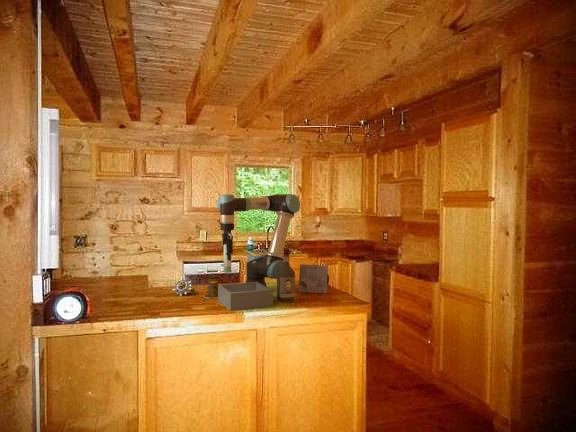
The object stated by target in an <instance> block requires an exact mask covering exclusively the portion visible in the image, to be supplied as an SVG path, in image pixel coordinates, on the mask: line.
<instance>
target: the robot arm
mask: <svg viewBox="0 0 576 432" xmlns="http://www.w3.org/2000/svg"><path fill="white" fill-rule="evenodd" d="M216 208H217V209H218V210H219V219H220V220H219V221H220V224H219V229H220V230H221V231H223V233H222V234H221V237H222V240H221V241H222V246H221V247H222V248H221V249H222V252H223V253H224V244H226V250H227V253H226V266H231V267H232V254H233V252H234V251H233V250H234V249H233V245H234V242H233V241H234V236H233V234H232V231H234V230H235V212H249V211H254V210H255V211H256V210H261V211H263V212H275V214H276V216H277V218H276V220H275V224H274V228H273V233H272V236H271V241H270V244H269V248H268V252H267V253H265V254H263V255H258V254H257V255H250V256H247V258H246V265H245V266H246V267H245V268H246V271H245V272H246V280H245V283H249V282H258V283H260V284H262V285H264V286H266V287H268V286H267V283H266V278H268V279H271V280H273V279H274V280H277V272H278V270H279V269H280V268H281V267H282V266H283V249H285V244H286V240H287V238H288V237H287V236H288V233H289V228H290V225H291V224H290V223H291V220H292V219H294V217H295V214H296V213H298V212H299V211H300V209H301V201H300V199H299V197H298V196H297V195H296V194H293V193H280V194H279V193H278V194H270V195H263V196H261V197H235V195H234V194H220V197H219V198H218V199H217V201H216Z"/></svg>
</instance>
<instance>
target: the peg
mask: <svg viewBox="0 0 576 432" xmlns="http://www.w3.org/2000/svg"><path fill="white" fill-rule="evenodd" d="M226 253H227V250H226V244H224V252H223V273H226V274H227V273H228V274H229V273H232V265H231V266H226Z"/></svg>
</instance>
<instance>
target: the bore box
mask: <svg viewBox="0 0 576 432" xmlns="http://www.w3.org/2000/svg"><path fill="white" fill-rule="evenodd" d="M217 301H218V302H219V303H220V304H221V305H223V306H224V307H225V308H227V310H229V311H231V312H232V311H241V310H249V309H259V308H268V307H274V306H273V305H274V290H273V289H272V288H270V287H268V286H267V287H266V286H264V285H262V284H260V283H258V282H249V283H246V282H241V283H239V282H238V283H227V284H226V283H225V284H218V297H217Z"/></svg>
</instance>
